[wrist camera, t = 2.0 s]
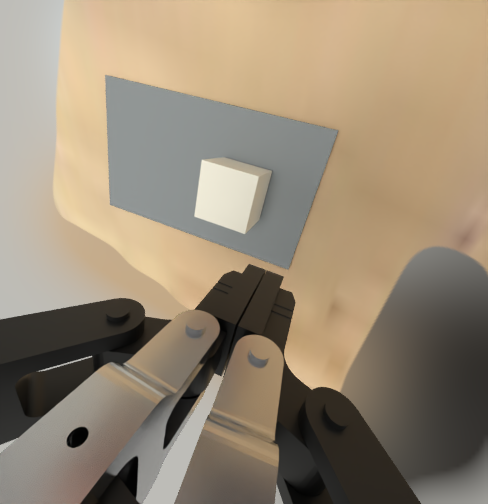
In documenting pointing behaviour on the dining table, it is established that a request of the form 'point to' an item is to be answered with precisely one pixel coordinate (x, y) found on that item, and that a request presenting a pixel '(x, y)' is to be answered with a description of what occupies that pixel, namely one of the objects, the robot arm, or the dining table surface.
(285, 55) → the dining table surface
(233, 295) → the robot arm
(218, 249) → the dining table surface
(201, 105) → the mat
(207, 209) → the cube
